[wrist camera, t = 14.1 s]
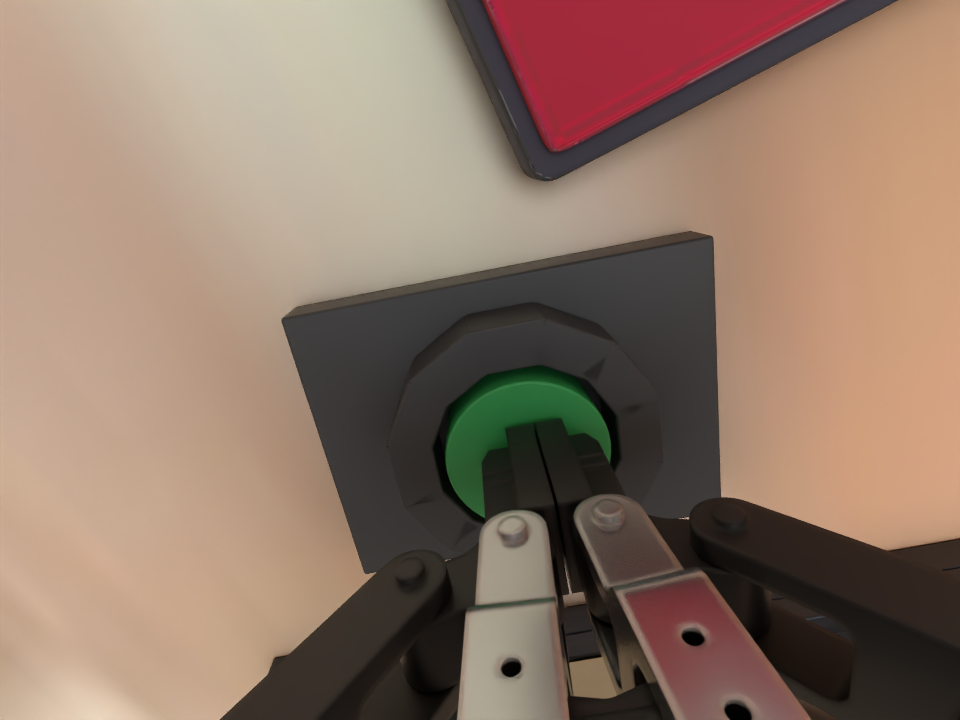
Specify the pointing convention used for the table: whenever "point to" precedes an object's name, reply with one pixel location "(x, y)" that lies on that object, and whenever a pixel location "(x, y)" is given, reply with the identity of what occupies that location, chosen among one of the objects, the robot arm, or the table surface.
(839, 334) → the table surface
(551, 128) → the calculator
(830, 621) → the rail
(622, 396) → the button box
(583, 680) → the nozzle carriage
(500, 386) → the button
